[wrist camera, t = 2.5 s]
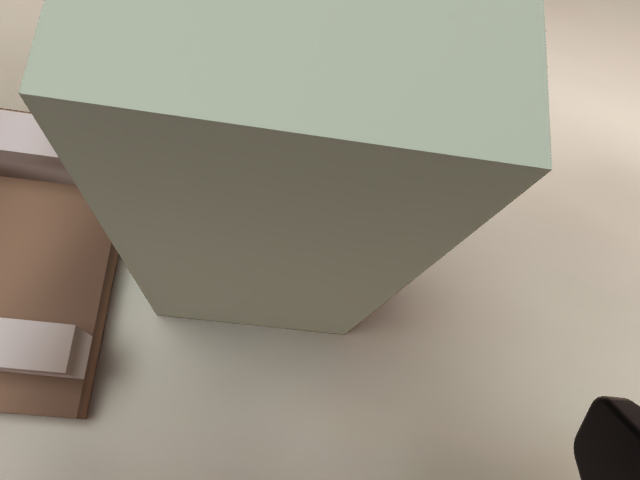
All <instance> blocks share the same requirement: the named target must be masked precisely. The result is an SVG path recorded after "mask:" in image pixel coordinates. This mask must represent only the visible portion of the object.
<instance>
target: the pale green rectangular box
mask: <svg viewBox="0 0 640 480" xmlns="http://www.w3.org/2000/svg"><path fill="white" fill-rule="evenodd" d="M19 94H20V96H21V98H22V99H23V101H24V102H25V104H26V106H27V107H28V109H29V111H30V112H31V114H32V115H33V117H34V119H35V120H36V122H37V123H38V125H39V127H40V128H41V130H42V131H43V133H44V135H45V136H46V138H47V139H48V141H49V143H50V144H51V146H52V147H53V149H54V151H55V152H56V154H57V156H58V157H59V159H60V160H61V162H62V164H63V165H64V167H65V168H66V170H67V172H68V173H69V175H70V176H71V178H72V180H73V181H74V183H75V184H76V186H77V188H78V189H79V191H80V192H81V194H82V196H83V197H84V199H85V201H86V202H87V204H88V205H89V207H90V209H91V210H92V212H93V213H94V215H95V217H96V218H97V220H98V221H99V223H100V225H101V226H102V228H103V229H104V231H105V233H106V234H107V236H108V237H109V239H110V241H111V242H112V244H113V246H114V247H115V249H116V250H117V252H118V254H119V255H120V257H121V258H122V260H123V262H124V263H125V265H126V266H127V268H128V270H129V271H130V273H131V274H132V276H133V278H134V279H135V281H136V282H137V284H138V286H139V287H140V289H141V291H142V292H143V294H144V295H145V297H146V299H147V300H148V302H149V303H150V305H151V307H152V308H153V310H154V311H155V313H156V315H161V316H171V317H180V318H190V319H200V320H209V321H219V322H229V323H238V324H248V325H257V326H267V327H277V328H286V329H296V330H305V331H315V332H325V333H334V334H344V335H345V334H346V333H347V332H348V331H350V330H351V329H352V328H353V327H355V326H356V325H357V324H358V323H360V322H361V321H362V320H364V319H365V318H366V317H367V316H369V315H370V314H371V313H372V312H374V311H375V310H376V309H377V308H379V307H380V306H381V305H382V304H384V303H385V302H386V301H387V300H389V299H390V298H391V297H392V296H394V295H395V294H396V293H397V292H399V291H400V290H401V289H403V288H404V287H405V286H406V285H408V284H409V283H410V282H411V281H413V280H414V279H415V278H416V277H418V276H419V275H420V274H421V273H423V272H424V271H425V270H426V269H428V268H429V267H430V266H431V265H433V264H434V263H435V262H436V261H438V260H439V259H440V258H442V257H443V256H444V255H445V254H447V253H448V252H449V251H450V250H452V249H453V248H454V247H455V246H457V245H458V244H459V243H460V242H462V241H463V240H464V239H465V238H467V237H468V236H469V235H470V234H472V233H473V232H474V231H475V230H477V229H478V228H479V227H480V226H482V225H483V224H484V223H486V222H487V221H488V220H489V219H491V218H492V217H493V216H494V215H496V214H497V213H498V212H499V211H501V210H502V209H503V208H504V207H506V206H507V205H508V204H509V203H511V202H512V201H513V200H514V199H516V198H517V197H518V196H519V195H521V194H522V193H523V192H525V191H526V190H527V189H528V188H530V187H531V186H532V185H533V184H535V183H536V182H537V181H538V180H540V179H541V178H542V177H543V176H545V175H546V174H547V173H548V172H550V171H551V170H552V157H551V137H550V117H549V97H548V76H547V56H546V36H545V16H544V0H44V3H43V7H42V10H41V14H40V17H39V21H38V25H37V28H36V32H35V36H34V39H33V43H32V47H31V50H30V54H29V57H28V61H27V65H26V68H25V72H24V76H23V79H22V83H21V86H20V90H19Z"/></svg>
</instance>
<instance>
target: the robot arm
mask: <svg viewBox="0 0 640 480" xmlns="http://www.w3.org/2000/svg"><path fill="white" fill-rule="evenodd" d="M574 455H575V460H576V463H577V467H578V470H579V474H580V477H581V480H640V406H638V405H637V404H635V403H634V402H632V401H631V400H629V399H626V398H619V397H609V396H601V397H598V398H596V399H595V400H594V401H593V402H592V404H591V406H590V408H589V410H588V412H587V414H586V416H585V418H584V420H583V422H582V424H581V426H580V429H579V431H578V433H577V435H576V437H575V441H574Z"/></svg>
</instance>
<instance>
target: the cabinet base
mask: <svg viewBox="0 0 640 480" xmlns="http://www.w3.org/2000/svg"><path fill="white" fill-rule="evenodd" d="M117 258H118V252H117V250H116V249H115V247H114V246H113V244H112V242H111V241H110V239H109V237H108V236H107V234H106V233H105V231H104V229H103V228H102V226H101V225H100V223H99V221H98V220H97V218H96V217H95V215H94V213H93V212H92V210H91V209H90V207H89V205H88V204H87V202H86V201H85V199H84V197H83V196H82V194H81V192H80V191H79V189H78V188H77V186H76V184H75V183H74V181H73V180H72V178H71V176H70V175H69V173H68V172H67V170H66V168H65V167H64V165H63V164H62V162H61V160H60V159H59V157H58V156H57V154H56V152H55V151H54V149H53V147H52V146H51V144H50V143H49V141H48V139H47V138H46V136H45V135H44V133H43V131H42V130H41V128H40V127H39V125H38V123H37V122H36V120H35V119H34V117H33V115H32V114H31V112H24V111H17V110H10V109H3V108H0V412H3V413H15V414H27V415H40V416H52V417H64V418H76V419H86V417H87V412H88V407H89V401H90V396H91V391H92V386H93V381H94V376H95V371H96V366H97V360H98V355H99V350H100V345H101V340H102V335H103V330H104V325H105V319H106V314H107V309H108V304H109V299H110V294H111V289H112V283H113V278H114V273H115V268H116V263H117Z"/></svg>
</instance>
